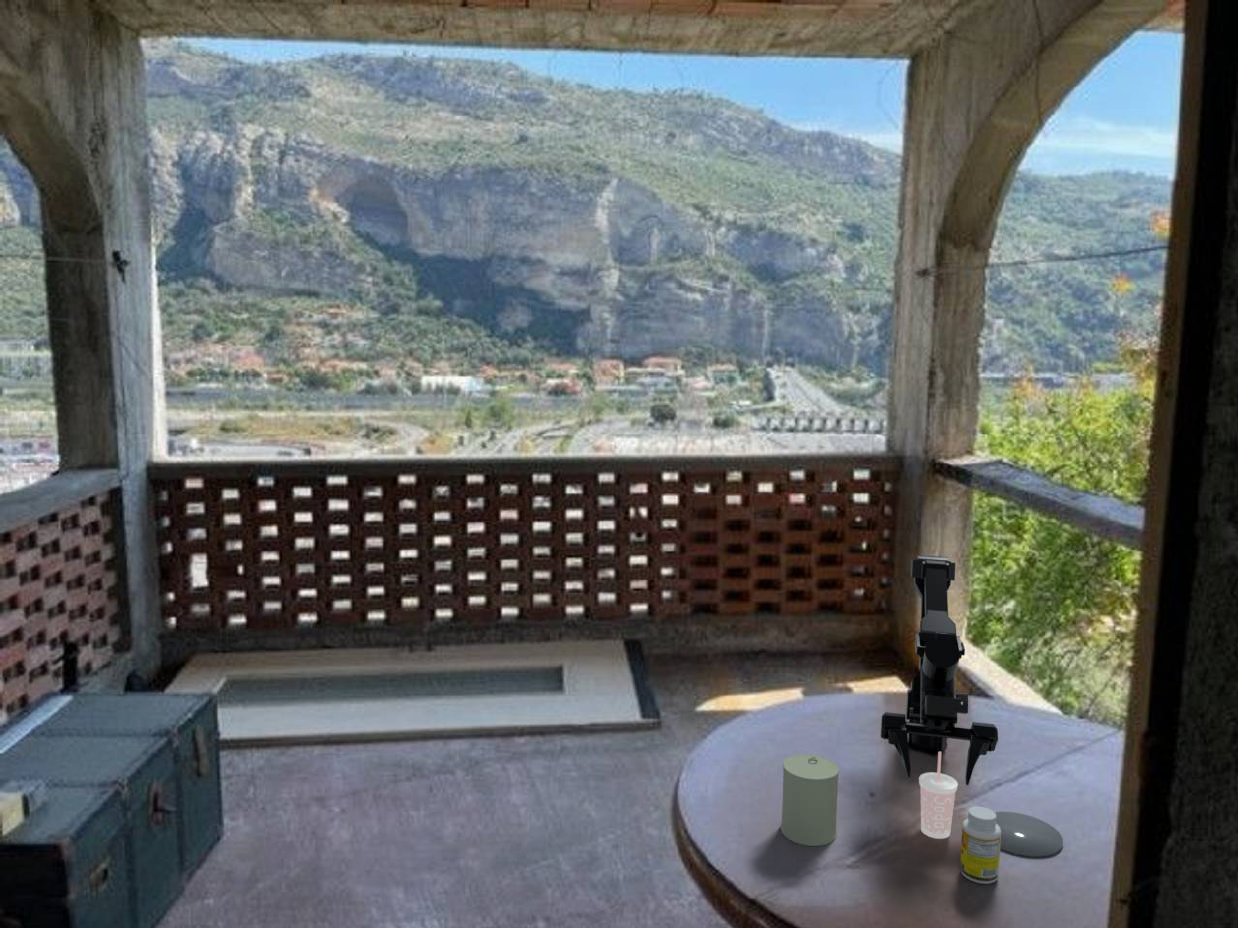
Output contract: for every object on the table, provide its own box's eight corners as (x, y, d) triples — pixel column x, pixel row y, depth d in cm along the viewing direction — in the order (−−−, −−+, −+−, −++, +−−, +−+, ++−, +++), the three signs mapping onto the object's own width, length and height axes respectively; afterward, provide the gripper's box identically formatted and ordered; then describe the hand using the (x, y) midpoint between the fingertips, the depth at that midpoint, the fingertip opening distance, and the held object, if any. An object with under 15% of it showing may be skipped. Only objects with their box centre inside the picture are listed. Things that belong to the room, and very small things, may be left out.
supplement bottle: (967, 860, 145) (970, 799, 144) (1003, 873, 142) (1007, 811, 140) (953, 876, 141) (957, 813, 140) (991, 890, 137) (995, 826, 136)
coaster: (965, 836, 152) (965, 833, 152) (992, 807, 162) (993, 803, 162) (1049, 866, 144) (1049, 863, 144) (1072, 833, 153) (1072, 829, 153)
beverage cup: (914, 836, 152) (919, 756, 150) (917, 818, 158) (921, 741, 156) (954, 844, 150) (959, 763, 148) (955, 825, 155) (960, 747, 154)
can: (839, 822, 156) (842, 755, 155) (833, 850, 148) (836, 780, 146) (785, 813, 159) (787, 747, 158) (776, 840, 151) (778, 771, 149)
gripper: (884, 667, 159) (881, 755, 149) (1000, 679, 154) (1004, 770, 144) (882, 694, 167) (879, 779, 158) (992, 706, 162) (995, 794, 153)
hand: (938, 780), depth 153 cm, fingers open, 9 cm apart
